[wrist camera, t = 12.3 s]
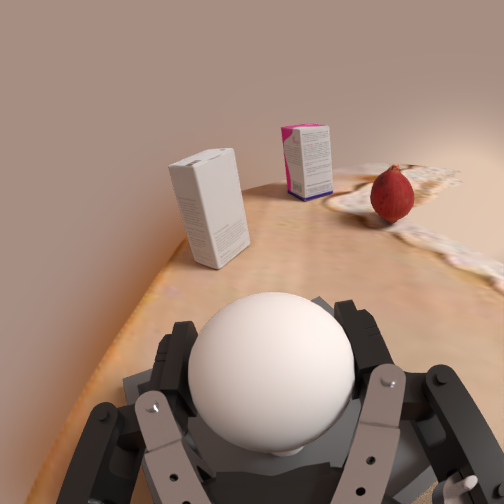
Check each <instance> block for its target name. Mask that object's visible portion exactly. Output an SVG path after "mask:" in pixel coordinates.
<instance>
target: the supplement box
mask: <svg viewBox="0 0 504 504" xmlns="http://www.w3.org/2000/svg"><path fill="white" fill-rule="evenodd" d="M281 131H282V140H283V148H284V157H285V167H286V177H287V187H288V193H290V194H292V195H294V196H296V197H298V198H300V199H301V200H303V201H309V200H312V199H316V198H319V197H322V196H326V195H330V194H332V193H333V181H332V162H331V147H330V133H329V126H325V125H318V124H317V125H316V124H302V125H295V126H287V127H282V128H281Z"/></svg>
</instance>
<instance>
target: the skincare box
mask: <svg viewBox="0 0 504 504" xmlns="http://www.w3.org/2000/svg"><path fill="white" fill-rule="evenodd" d="M168 168H169V172H170V176H171V180H172V183H173V187H174V190H175V195H176V198H177V202H178V206H179V209H180V213H181V217H182V220H183V223H184V227H185V230H186V234H187V237H188V241H189V244H190V248H191V251H192V254H193V258H194V260H195V261H196V262H198V263H200V264H203V265H205V266H208V267H211V268H214V269H220V268H222V267H223V266H224V265H225V264H227V263H228V262H229V261H230V260H231V259H233V258H234V257H235V256H236V255H237V254H239V253H240V252H241V251H242V250H244V249H245V248H246V247H247V246H248V245H250V238H249V233H248V227H247V221H246V216H245V210H244V204H243V199H242V193H241V188H240V182H239V176H238V171H237V165H236V160H235V154H234V150H233V149H232V148H224V149H210V150H205V151H203V152H200V153H198V154H195V155H193V156H190V157H188V158H186V159H184V160H181V161H179V162H176V163H174V164H172V165H169V167H168Z"/></svg>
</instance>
